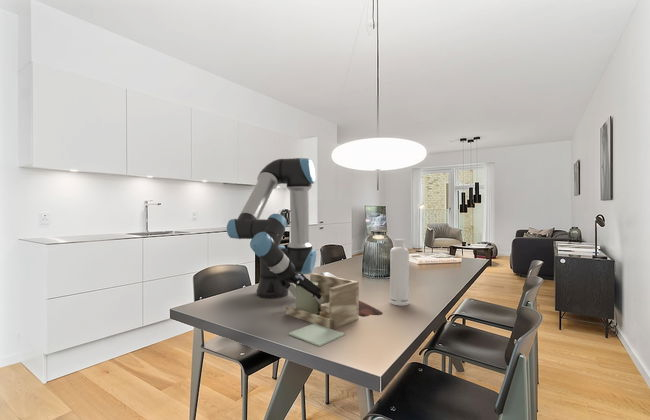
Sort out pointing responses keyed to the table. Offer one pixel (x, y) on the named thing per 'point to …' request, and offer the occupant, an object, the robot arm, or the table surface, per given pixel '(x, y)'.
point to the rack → (333, 302)
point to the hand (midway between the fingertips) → (310, 298)
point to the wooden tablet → (367, 310)
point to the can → (306, 300)
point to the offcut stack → (325, 310)
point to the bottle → (399, 273)
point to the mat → (316, 334)
